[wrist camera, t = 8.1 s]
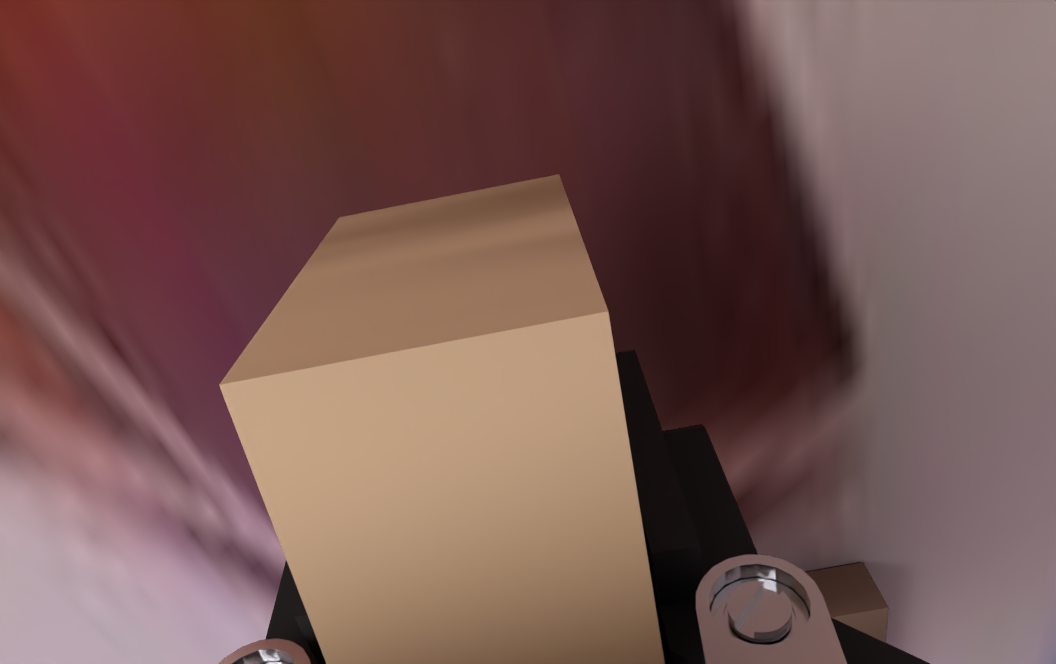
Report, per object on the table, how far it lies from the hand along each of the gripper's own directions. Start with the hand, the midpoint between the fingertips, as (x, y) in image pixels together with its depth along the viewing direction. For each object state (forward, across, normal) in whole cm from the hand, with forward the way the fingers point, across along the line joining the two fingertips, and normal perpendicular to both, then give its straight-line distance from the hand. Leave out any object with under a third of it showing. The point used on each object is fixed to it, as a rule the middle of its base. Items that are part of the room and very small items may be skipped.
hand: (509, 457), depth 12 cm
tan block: (0, 0, +3) cm, 3 cm away
